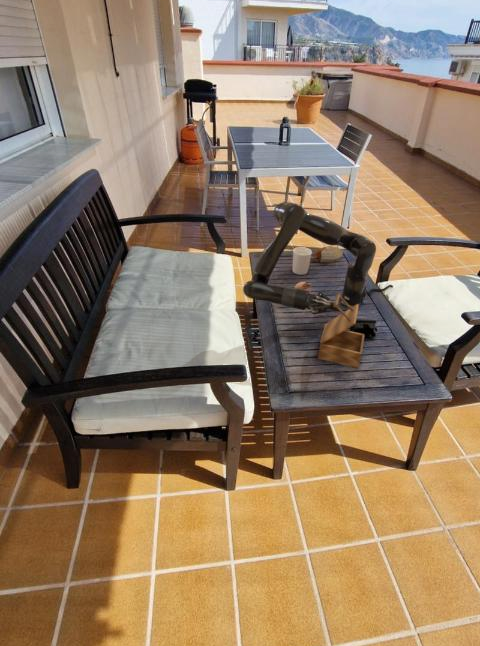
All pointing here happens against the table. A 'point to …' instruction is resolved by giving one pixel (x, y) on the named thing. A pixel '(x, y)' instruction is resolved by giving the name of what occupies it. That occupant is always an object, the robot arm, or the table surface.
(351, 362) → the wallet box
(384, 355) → the table surface
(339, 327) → the box lid
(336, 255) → the nautilus
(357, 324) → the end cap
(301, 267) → the candle holder
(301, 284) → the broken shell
